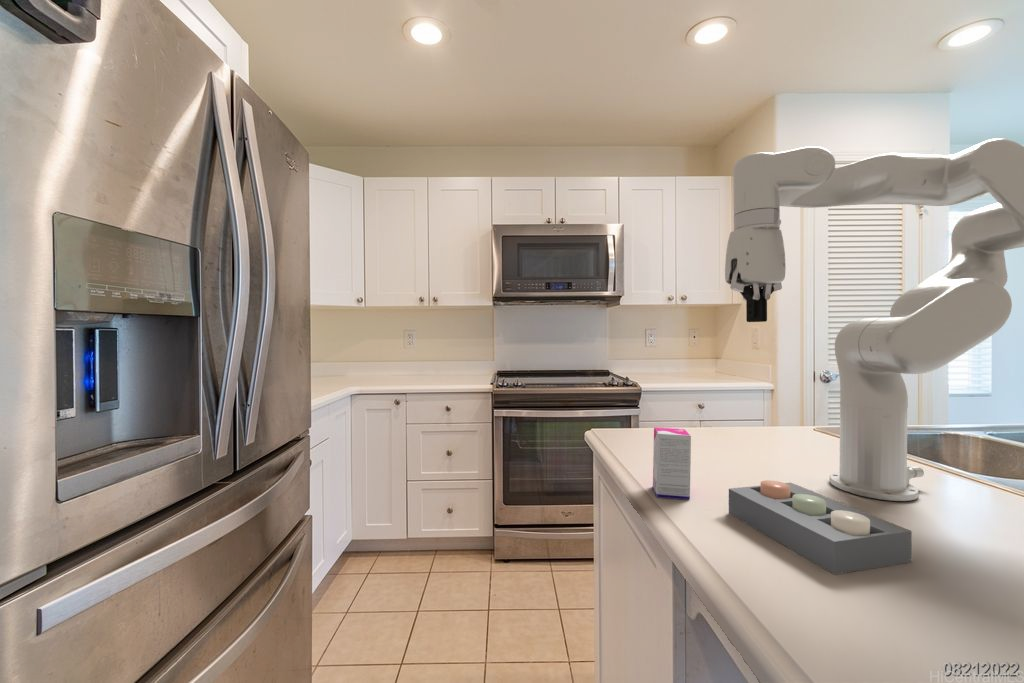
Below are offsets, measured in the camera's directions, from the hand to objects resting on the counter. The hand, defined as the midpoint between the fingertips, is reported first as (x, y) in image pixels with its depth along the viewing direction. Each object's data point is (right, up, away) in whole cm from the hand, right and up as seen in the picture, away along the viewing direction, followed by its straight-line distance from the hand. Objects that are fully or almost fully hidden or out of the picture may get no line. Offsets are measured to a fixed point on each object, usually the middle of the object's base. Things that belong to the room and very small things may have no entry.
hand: (756, 321), depth 80 cm
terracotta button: (-4, -30, -13) cm, 33 cm away
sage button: (-3, -30, -19) cm, 36 cm away
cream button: (-2, -31, -25) cm, 39 cm away
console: (-3, -32, -19) cm, 37 cm away
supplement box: (-17, -32, -2) cm, 36 cm away
